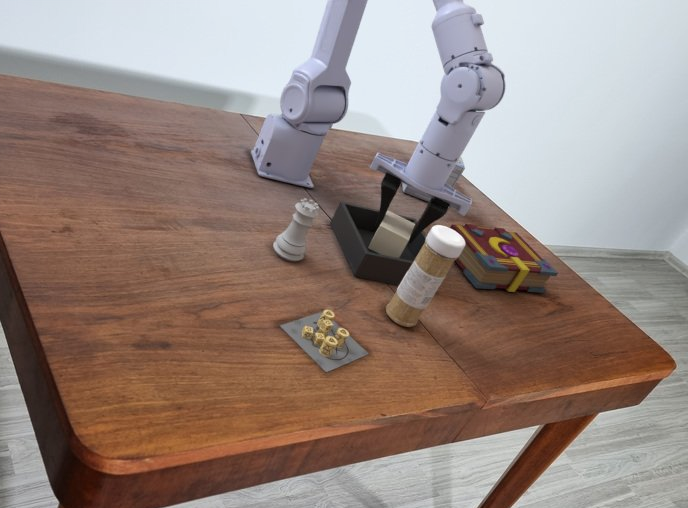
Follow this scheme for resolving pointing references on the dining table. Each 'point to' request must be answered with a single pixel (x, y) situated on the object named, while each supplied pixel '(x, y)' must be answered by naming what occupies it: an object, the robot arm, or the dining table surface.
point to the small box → (392, 235)
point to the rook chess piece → (296, 232)
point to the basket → (355, 237)
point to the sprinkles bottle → (425, 275)
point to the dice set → (324, 340)
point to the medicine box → (450, 181)
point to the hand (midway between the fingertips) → (394, 232)
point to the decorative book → (501, 260)
